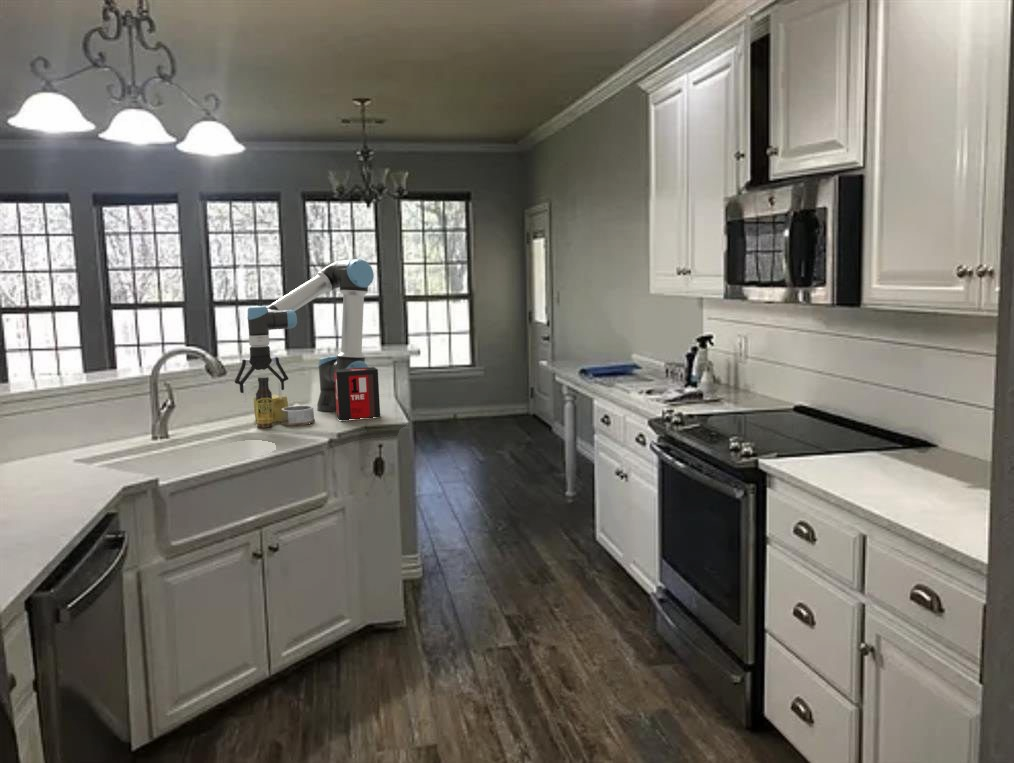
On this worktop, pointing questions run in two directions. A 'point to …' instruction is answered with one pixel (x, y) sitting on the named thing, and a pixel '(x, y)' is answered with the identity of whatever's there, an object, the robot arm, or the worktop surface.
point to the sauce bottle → (264, 404)
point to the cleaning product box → (357, 393)
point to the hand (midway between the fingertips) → (262, 399)
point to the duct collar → (297, 414)
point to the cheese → (276, 407)
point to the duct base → (297, 423)
